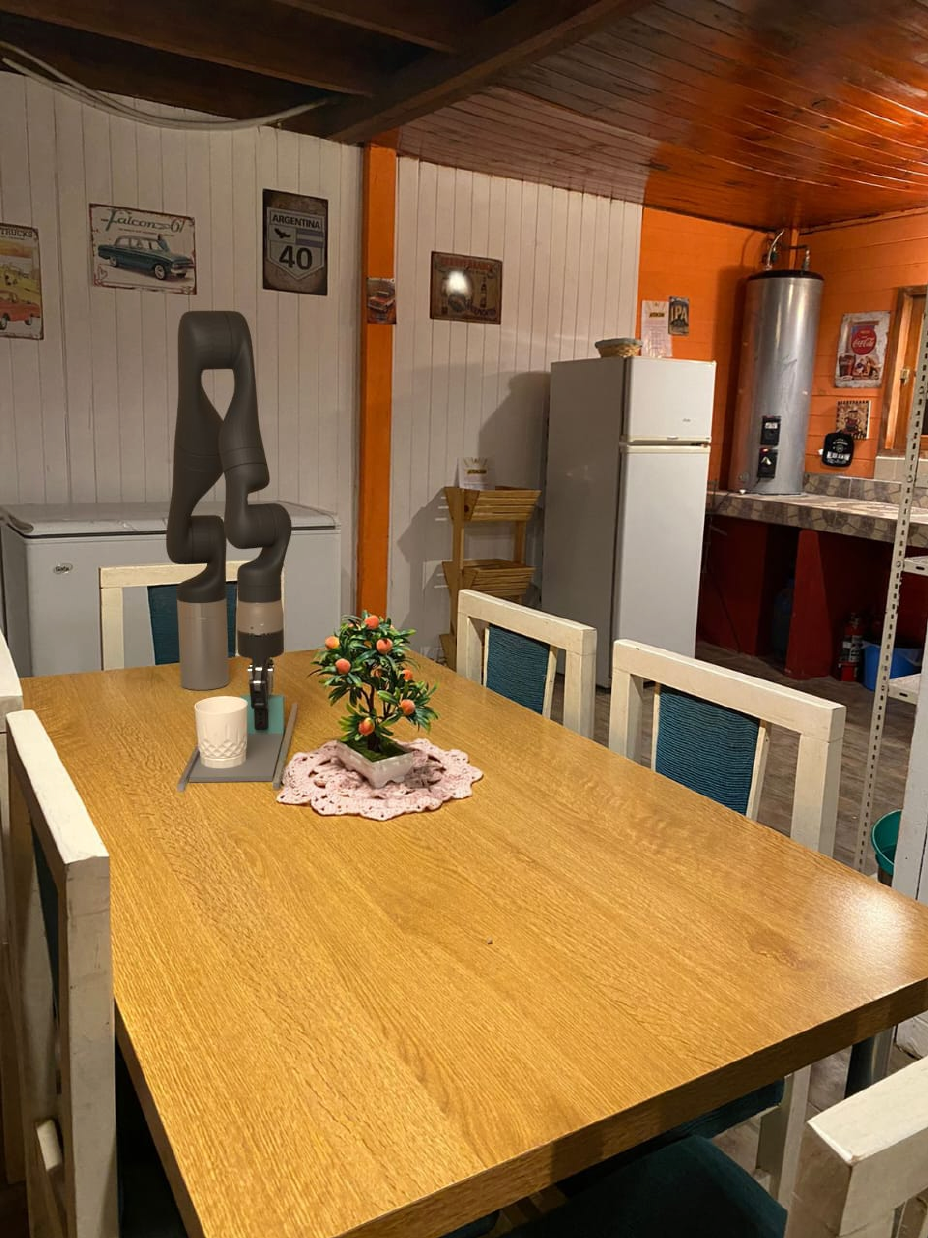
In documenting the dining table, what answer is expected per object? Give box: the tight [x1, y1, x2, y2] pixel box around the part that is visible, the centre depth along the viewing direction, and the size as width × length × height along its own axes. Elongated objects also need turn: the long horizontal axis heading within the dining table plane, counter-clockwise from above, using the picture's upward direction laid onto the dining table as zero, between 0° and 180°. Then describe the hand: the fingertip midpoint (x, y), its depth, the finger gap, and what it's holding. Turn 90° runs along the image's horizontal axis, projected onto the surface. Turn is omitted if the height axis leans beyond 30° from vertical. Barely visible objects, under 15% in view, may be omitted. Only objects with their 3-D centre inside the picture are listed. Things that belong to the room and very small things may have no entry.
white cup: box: [193, 695, 248, 768], centre depth 150 cm, size 8×8×10 cm
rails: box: [176, 701, 299, 793], centre depth 160 cm, size 38×14×1 cm, turn 5°
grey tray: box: [189, 694, 286, 783], centre depth 155 cm, size 22×12×7 cm, turn 5°
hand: (262, 725), depth 164 cm, fingers open, 3 cm apart
